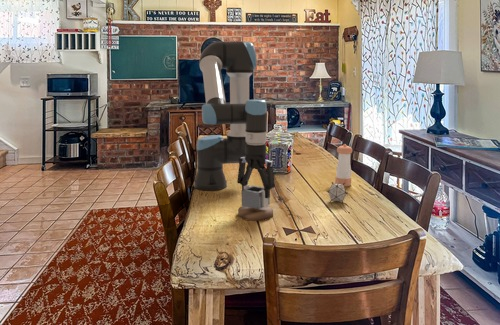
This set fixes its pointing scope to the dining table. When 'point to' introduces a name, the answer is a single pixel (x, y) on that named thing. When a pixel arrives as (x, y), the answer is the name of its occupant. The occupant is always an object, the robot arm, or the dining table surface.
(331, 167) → the dining table surface
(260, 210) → the round base with post
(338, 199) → the game die
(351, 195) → the dining table surface
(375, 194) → the dining table surface
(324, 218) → the dining table surface
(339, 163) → the pepper shaker
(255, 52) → the robot arm
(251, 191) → the hollow square box
